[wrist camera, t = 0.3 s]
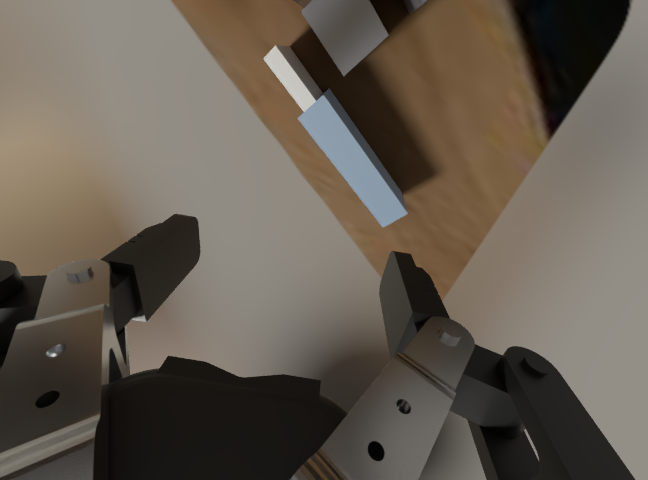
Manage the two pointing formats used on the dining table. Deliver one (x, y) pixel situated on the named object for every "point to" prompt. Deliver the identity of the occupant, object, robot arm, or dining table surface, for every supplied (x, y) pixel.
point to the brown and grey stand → (348, 28)
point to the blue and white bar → (339, 138)
